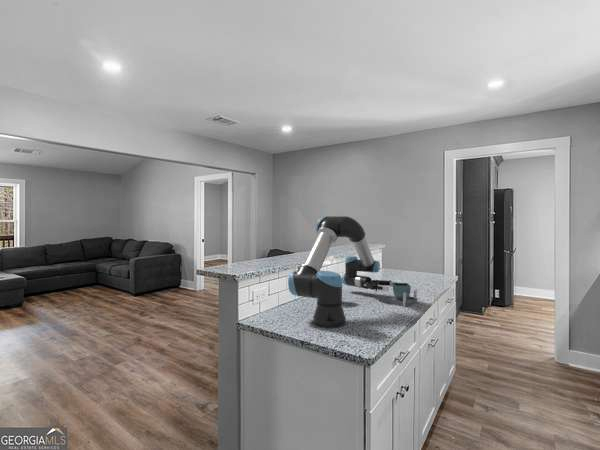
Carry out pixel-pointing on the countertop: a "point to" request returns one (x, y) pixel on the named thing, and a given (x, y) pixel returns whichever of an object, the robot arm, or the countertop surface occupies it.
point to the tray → (404, 302)
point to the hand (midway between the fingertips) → (394, 287)
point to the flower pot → (401, 290)
